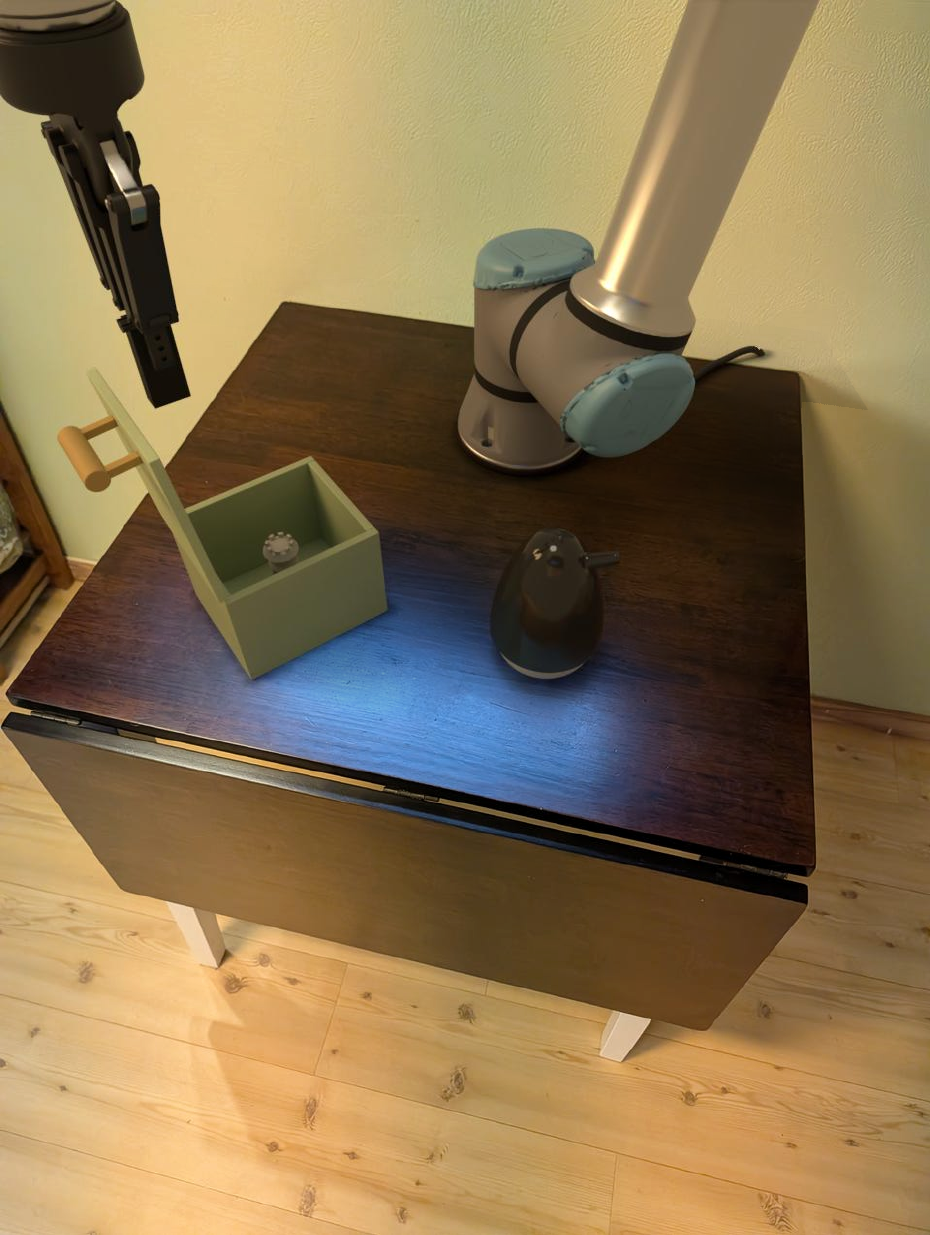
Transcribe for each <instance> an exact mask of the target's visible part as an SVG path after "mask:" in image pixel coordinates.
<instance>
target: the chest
mask: <svg viewBox="0 0 930 1235" xmlns="http://www.w3.org/2000/svg"><path fill="white" fill-rule="evenodd" d="M184 509H185V511H186V513H187V515H188V517H189V519H190V521H191V523H192V525H193V527H194V529H195V531H196V533H197V535H198V537H199V539H200V541H201V544H202V546H203V548H204V550H205V552H206V554H207V556H208V558H209V560H210V562H211V564H212V566H213V568H214V570H215V572H216V574H217V576H218V578H219V580H220V582H221V584H222V586H223V588H224V590H225V592H226V594H227V597H228V599H227V600H226V601H224V602H222V603H219V602H218V600H217V599H216V597H215V596H214V594H213V593H212V591H211V590H210V588H209V587H208V585H207V584H206V582H205V581H204V579H203V578H202V576H201V575H200V573H199V572H198V570H197V569H196V567H195V566H194V564H193V563H192V561H191V560H190V558H189V557H188V555H187V554H186V552H185V550H184V549H183V547H182V546H181V544H180V543H179V541H178V540H177V538H176V537H175V535H174V534H173V532H172V531H171V533H172V535H173V537H174V540H175V543H176V545H177V548H178V551H179V554H180V556H181V559H182V562H183V564H184V566H185V569H186V572H187V575H188V577H189V580H190V582H191V585H192V588H193V590H194V593H195V595H196V597H197V598H198V600H199V602H200V603H201V605H202V606H203V608H204V610H205V611H206V613H207V614H208V615H209V617H210V618H211V621H212V622H213V624H215V626H216V628H217V629H218V632H220V634H221V635H222V637H223V639H224V640H225V642H226V643H227V645H228V647H229V648H230V649H231V651H232V653H233V655H234V656H235V657H236V658H237V660H238V662H239V663H240V665H241V667H242V668H243V669H244V671H245V673H246V674H247V676H248V677H249V679H250V680H251V681H253V680H256V679H257V678H259V677H261V676H263V675H265V674H266V673H267V674H268V673H269V672H272V671H273V670H275V669H277V668H279V667H281V666H282V665H284V664H286V663H288V662H290V661H293V660H294V659H296V658H298V657H300V656H302V655H304V654H306V653H308V652H309V651H312V650H314V649H316V648H318V647H319V646H321V645H324V644H325V643H327V642H329V641H331V640H333V639H335V638H337V637H339V636H341V635H343V634H345V633H347V632H349V631H350V630H353V629H354V628H356V627H358V626H360V625H362V624H364V623H366V622H368V621H371V620H372V619H374V618H377V617H378V616H380V615H381V614H384V613H386V612H387V611H388V602H387V594H386V593H387V591H386V585H385V574H384V567H383V558H382V549H381V539H380V533H379V530H377V529H376V528H375V527H374V525H373V524H372V523H371V522H370V521H369V520H368V519H367V517H366V516H365V515H364V514H363V513H362V512H361V511H360V510H359V508H357V506H356V505H355V504H354V503H353V502H352V500H351V499H350V498H349V497H348V496H347V494H345V493H344V491H343V490H342V489H341V488H340V487H339V486H338V484H337V483H336V482H335V481H334V480H333V479H332V478H331V476H329V474H328V473H327V472H326V471H325V470H324V468H322V466H321V465H320V464H319V463H318V462H317V461H316V460H315V458H314V457H313V456H312V455H309V456H307V457H304V458H302V459H300V460H298V461H295V462H293V463H291V464H288V465H285V466H283V467H281V468H279V469H276V470H273V471H271V472H269V473H267V474H264V475H262V476H260V477H257V478H255V479H253V480H250V481H247V482H245V483H243V484H241V485H238V486H236V487H233V488H231V489H228V490H227V491H226V490H225V491H224V492H222V493H219V494H217V495H214V496H212V497H209V498H207V499H205V500H202V501H200V502H198V503H196V504H193V505H191V506H188V507H185V508H184ZM278 532H283V533H284V536H286V535H287V534H289V535H290V536H292V539H294V540H295V541H296V542H297V543H298V546H299V549H298V553H297V555H298V557H299V561H298V564H296V565H294V566H292V567H289V568H287V569H285V570H283V571H281V572H279V573H277V574H275V575H273V572H272V569H271V568H270V567H269V564H268V561H269V560H268V559H266V558H265V557H264V555H263V547H264V546H265V541H266V540H268V541H269V537H268V536H270V535H272V534H273V535H274V537H276V536H278Z"/></svg>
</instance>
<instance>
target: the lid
mask: <svg viewBox="0 0 930 1235" xmlns="http://www.w3.org/2000/svg"><path fill="white" fill-rule="evenodd" d="M85 375H86V376H87V378H88V380H89V382H90V384H91V386H92V387H93V389H94V391H95V393H96V395H97V397H98V400H99V401H100V403H101V404H102V406H103V408H104V410H105V412H106V414H107V416H105V417H103V418H100V419H99V420H96V421H95V422H92V423H90V424H88V425H86V426H83V427H81V428H79V427H78V426H75V425H67V426H64V427H62V428H60V430H58V433H57V437H56V440H57V443H58V444H59V445H60V447H61V449H62V450H63V452H64V454H65V455H66V457H67V460H68V461H69V462H70V464H71V465H72V467H73V469H74V470H75V472H76V474H77V475H78V477H79V479H80V480H81V482H82V484H83V485H84V487H85V488H86V490H88V491H90V492H93V493H101V492H104V491H106V490H107V489H108V488H109V487H110V485H111V483H112V479H113V478H115V477H117V476H120V475H122V474H124V473H126V472H128V471H130V470H132V469H134V468H135V469H136V471H137V473H138V475H139V476H140V478H141V480H142V482H143V484H144V486H145V488H146V490H147V492H148V493H149V495H150V497H151V499H152V502H153V503H154V505H155V507H156V508H157V510H158V512H159V514H160V516H161V518H162V520H164V522H165V523H166V526H167V527H168V528H169V530H170V531H171V533H172V532H173V533H172V535H173V534H174V535H175V537H176V538H177V540H178V541H179V543H180V544H181V546H182V547H183V549H184V550H185V552H186V554H187V555H188V557H189V558H190V560H191V561H192V563H193V564H194V566H195V567H196V569H197V570H198V572H199V573H200V575H201V576H202V578H203V579H204V581H205V582H206V584H207V585H208V587H209V588H210V590H211V591H212V593H213V594H214V596H215V597H216V599H217V600H218V602H219V603H222V602H224V601H226V600H227V599H228V597H227V594H226V592H225V590H224V588H223V586H222V584H221V582H220V580H219V578H218V576H217V574H216V572H215V570H214V568H213V566H212V564H211V562H210V560H209V558H208V556H207V554H206V552H205V550H204V548H203V546H202V544H201V541H200V539H199V537H198V535H197V533H196V531H195V529H194V527H193V525H192V523H191V521H190V519H189V517H188V515H187V513H186V511H185V509H186V508H185V507H184V505H183V502H182V501H181V498H180V496H179V495H178V492H177V491H176V488H175V486H174V485H173V483H172V481H171V480H172V479H171V478H170V477H169V475H168V472H167V470H166V468H165V466H164V464H163V462H162V460H161V458H160V456H159V455H158V453H157V452H156V451H155V449H154V448H153V446H152V445H151V444H150V443H149V441H148V440H147V438H146V437H145V435H144V434H143V432H142V431H141V429H140V428H139V427H138V425H137V424H136V423H135V421H134V420H133V418H132V416H131V415H130V414H129V412H128V411H127V410H126V408H125V407H124V405H123V403H121V401H120V400H119V398H118V397H117V396H116V395H115V393H114V391H113V390H112V388H111V387H110V386H109V384H108V383H107V381H106V380H105V379H104V377H103V376H102V374H101V373H100V371H99V370H98V369H97V367H95V366H94V367H90V368H89V369H87V370H85ZM114 429H115V431H116V434H117V435H118V437H119V438H120V440H121V442H122V445H123V446H124V448H125V450H126V452H127V455H124V456H122V457H121V458H118V459H116V460H114V461H112V462H110V463H108V464H105V465H104V464H103V462H102V459H100V457H99V455H98V454H97V452H96V451H95V449H94V448H93V446H92V444H91V443H90V441H89V440H91V439H93V438H96V437H98V436H100V435H102V434H104V433H106V432H109V431H111V430H114ZM174 535H173V536H174Z"/></svg>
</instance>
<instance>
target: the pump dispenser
mask: <svg viewBox="0 0 930 1235" xmlns="http://www.w3.org/2000/svg"><path fill="white" fill-rule="evenodd" d="M620 562H621V553H620V552H619V551H618V550H611V551H593V552H592V551H591V552H590V550H589V549H588V547H587V546H586V544H585V542H584V541H582V540H581V538H580V537H579V536H578V535H577V534H575V533H574V532H572V531H571V530H569V529H567V528H564V527H557V526H550V527H544V528H541V529H539V530H537V531H536V532H534V533H532V534H531V535H530V536H529V537H527V538H526V539H525V540H524V541H523V542H522V543H521V545H519V547H518V548H517V549H516V551H515V552H514V554H513V555H512V557H511V558H510V560H509V561H508V563H507V564H506V566H505V567H504V569H503V572H502V574H501V576H500V579H499V581H498V583H497V586H496V590H495V593H494V596H493V601H492V605H491V608H490V615H489V631H490V636H491V639H492V642H493V644H494V646H495V647H496V649H497V650H498V651H499V654H500V655H501V656H502V658H503V659H504V660H505V661H506V663H507V664H508V665H510V666H511V668H513V669H515V671H517V672H519V673H521V674H523V675H525V676H526V677H527V676H528V677H531V678H534V679H541V680H553V679H557V678H562V677H566V676H568V675H570V674H572V673H573V672H575V671H577V670H578V669H580V668H581V667H582V666H583V665H584V664H586V662H587V661H588V660H590V659H591V658H592V657H593V656H594V654H595V653H596V652H597V650H598V649H599V646H600V644H601V641H602V638H603V633H604V626H605V625H604V624H605V603H604V594H603V587H602V582H601V578H600V575H599V572H598V569H602V568H606V567H610V566H614V565H615V566H616V565H619V564H620Z"/></svg>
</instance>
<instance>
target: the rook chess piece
mask: <svg viewBox="0 0 930 1235" xmlns="http://www.w3.org/2000/svg"><path fill="white" fill-rule="evenodd" d="M268 537H269V541H268V540H266V541H265V546H264V547H263V555H264V557H265V558H266V559H268V560H269V561H268V564H269V567H270V568H271V569H272V572H273V575H275V574H277V573H279V572H281V571H283V570H285V569H287V568H289V567H292V566H294V565H296V564H298V561H299V557H298V555H297V553H298V549H299V546H298V543H297V542H296V541H295V540H294V539H292V536H290V535H289V534H287V535H286V536H284V533H283V532H278V536H276V537H274V535H273V534H272V535H270V536H268Z"/></svg>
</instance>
